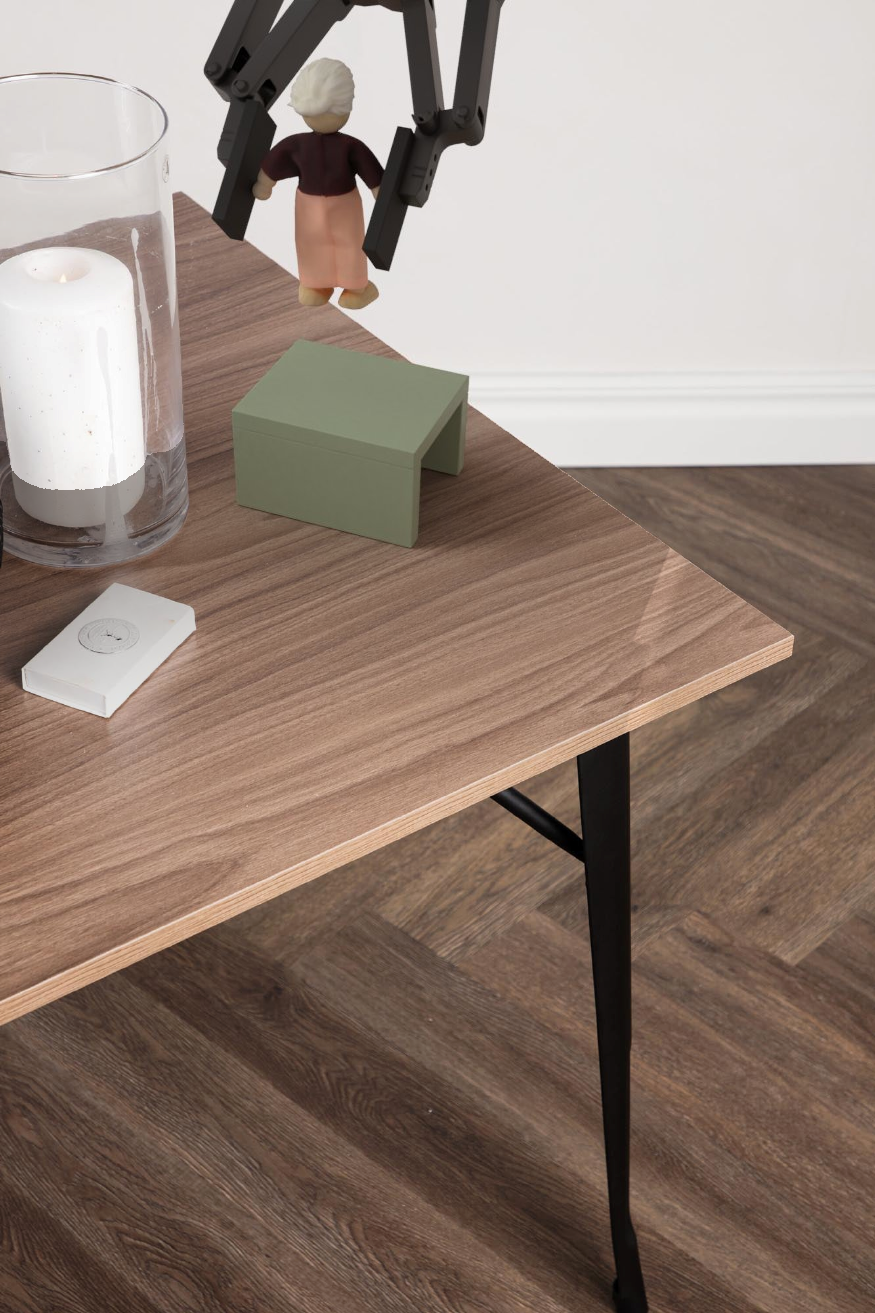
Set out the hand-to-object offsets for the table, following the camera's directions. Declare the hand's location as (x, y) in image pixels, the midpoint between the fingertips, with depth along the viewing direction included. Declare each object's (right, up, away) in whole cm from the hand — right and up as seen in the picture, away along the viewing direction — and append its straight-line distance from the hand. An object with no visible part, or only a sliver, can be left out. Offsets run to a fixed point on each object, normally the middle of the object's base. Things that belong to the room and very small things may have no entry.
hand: (300, 244), depth 73 cm
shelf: (+2, -10, +20) cm, 23 cm away
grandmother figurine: (+1, -1, +6) cm, 6 cm away
